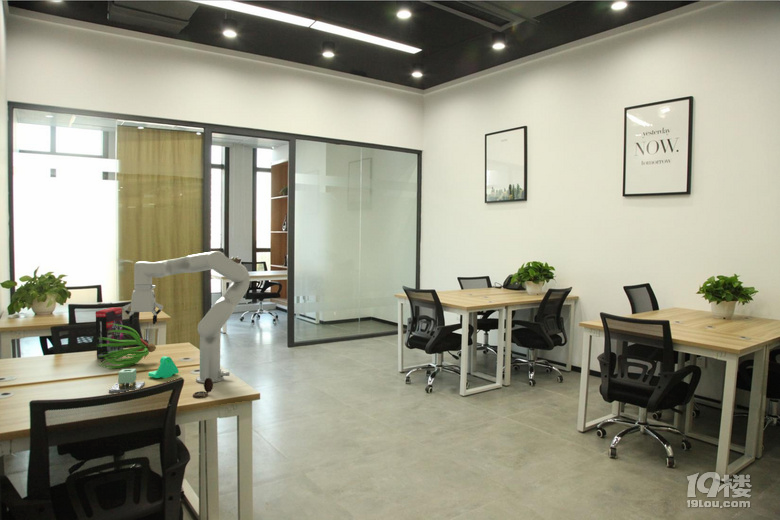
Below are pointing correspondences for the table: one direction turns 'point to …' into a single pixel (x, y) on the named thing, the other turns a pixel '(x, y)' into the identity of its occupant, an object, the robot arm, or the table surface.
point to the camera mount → (165, 368)
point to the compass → (208, 388)
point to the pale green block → (127, 376)
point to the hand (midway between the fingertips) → (143, 323)
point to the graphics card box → (102, 327)
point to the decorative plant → (135, 350)
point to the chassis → (126, 386)
